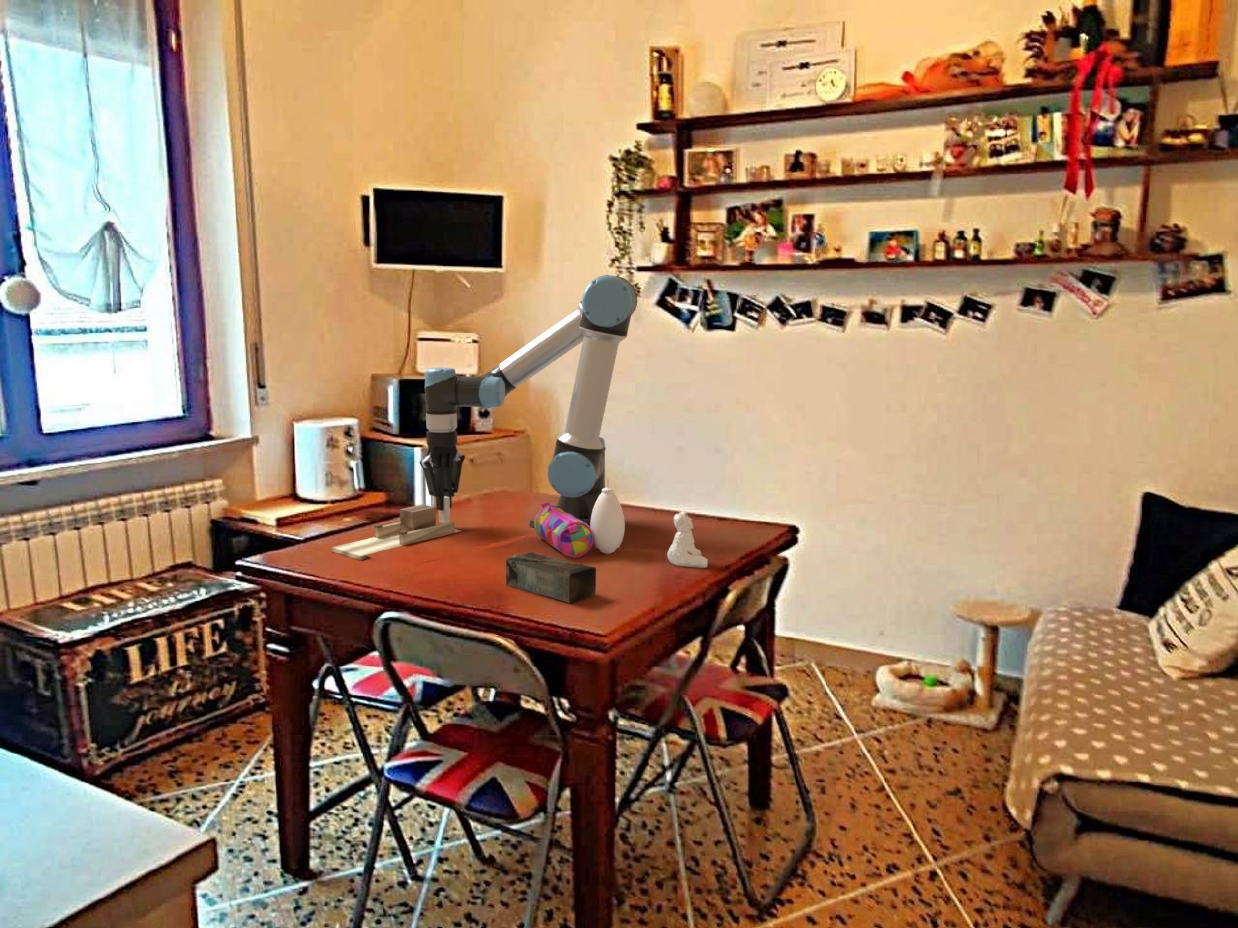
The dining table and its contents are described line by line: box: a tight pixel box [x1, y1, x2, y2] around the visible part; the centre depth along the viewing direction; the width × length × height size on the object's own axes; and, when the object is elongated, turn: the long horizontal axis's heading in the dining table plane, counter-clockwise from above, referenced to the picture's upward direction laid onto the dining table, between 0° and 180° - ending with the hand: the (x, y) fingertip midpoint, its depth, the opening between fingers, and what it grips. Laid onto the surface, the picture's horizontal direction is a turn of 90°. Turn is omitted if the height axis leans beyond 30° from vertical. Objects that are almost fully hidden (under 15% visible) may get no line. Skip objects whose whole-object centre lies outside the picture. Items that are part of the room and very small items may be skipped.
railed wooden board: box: [331, 521, 462, 561], centre depth 230 cm, size 12×30×4 cm, turn 140°
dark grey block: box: [505, 551, 597, 604], centre depth 194 cm, size 8×19×7 cm, turn 49°
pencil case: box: [529, 501, 594, 558], centre depth 226 cm, size 22×9×9 cm, turn 24°
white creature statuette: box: [666, 510, 709, 569], centre depth 212 cm, size 10×9×12 cm
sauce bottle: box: [590, 477, 626, 555], centre depth 220 cm, size 8×8×18 cm
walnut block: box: [399, 504, 437, 532], centre depth 234 cm, size 5×7×6 cm
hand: (444, 521), depth 241 cm, fingers closed
